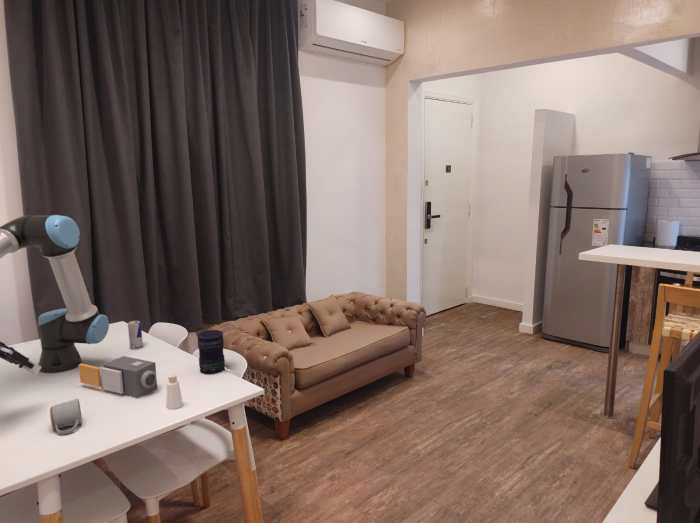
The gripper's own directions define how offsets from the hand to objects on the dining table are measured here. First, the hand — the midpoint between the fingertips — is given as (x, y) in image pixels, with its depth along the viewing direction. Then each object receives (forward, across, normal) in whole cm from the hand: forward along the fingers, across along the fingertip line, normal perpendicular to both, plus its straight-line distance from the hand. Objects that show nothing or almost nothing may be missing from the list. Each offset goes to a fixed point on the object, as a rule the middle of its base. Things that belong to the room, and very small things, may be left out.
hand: (37, 370), depth 168 cm
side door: (+21, +8, +4) cm, 22 cm away
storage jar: (+44, +32, +25) cm, 60 cm away
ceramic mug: (+6, +20, -13) cm, 25 cm away
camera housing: (+25, +18, +7) cm, 31 cm away
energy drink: (+48, -16, +30) cm, 59 cm away
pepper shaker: (+23, +40, +4) cm, 47 cm away
